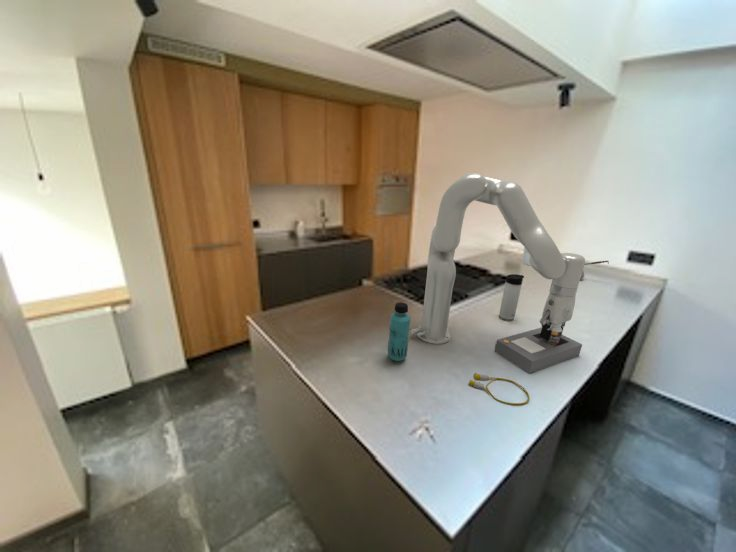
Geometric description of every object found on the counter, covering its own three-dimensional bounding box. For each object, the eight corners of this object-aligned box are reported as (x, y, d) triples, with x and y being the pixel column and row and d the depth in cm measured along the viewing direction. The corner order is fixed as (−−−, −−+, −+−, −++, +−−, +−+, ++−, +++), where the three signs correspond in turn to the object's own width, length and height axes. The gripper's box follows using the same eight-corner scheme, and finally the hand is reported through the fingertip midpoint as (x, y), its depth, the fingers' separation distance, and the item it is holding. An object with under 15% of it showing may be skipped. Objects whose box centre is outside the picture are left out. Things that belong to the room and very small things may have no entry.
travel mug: (516, 322, 130) (526, 278, 123) (500, 320, 131) (509, 276, 125) (512, 316, 136) (522, 273, 129) (497, 314, 137) (505, 272, 130)
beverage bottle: (394, 351, 105) (398, 298, 99) (410, 359, 101) (416, 304, 95) (383, 359, 100) (386, 304, 94) (399, 367, 96) (404, 310, 90)
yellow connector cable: (485, 369, 98) (486, 363, 98) (535, 396, 87) (537, 390, 86) (463, 384, 91) (464, 378, 90) (515, 415, 79) (517, 409, 79)
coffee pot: (559, 278, 191) (565, 254, 186) (564, 274, 199) (569, 252, 194) (600, 287, 177) (608, 262, 172) (603, 283, 185) (611, 259, 180)
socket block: (529, 373, 96) (532, 360, 95) (494, 350, 108) (496, 338, 106) (578, 355, 107) (582, 343, 106) (542, 336, 119) (545, 325, 117)
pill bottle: (548, 350, 106) (555, 325, 103) (535, 341, 111) (541, 317, 108) (561, 348, 108) (568, 323, 104) (548, 340, 113) (554, 316, 110)
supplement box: (540, 265, 217) (546, 242, 212) (533, 266, 213) (538, 243, 207) (528, 261, 225) (533, 239, 220) (520, 263, 221) (525, 240, 215)
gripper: (557, 297, 96) (544, 347, 102) (589, 290, 103) (575, 337, 109) (536, 289, 102) (524, 336, 108) (567, 283, 109) (555, 327, 115)
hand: (550, 336), depth 108 cm, fingers closed on pill bottle, 5 cm apart
